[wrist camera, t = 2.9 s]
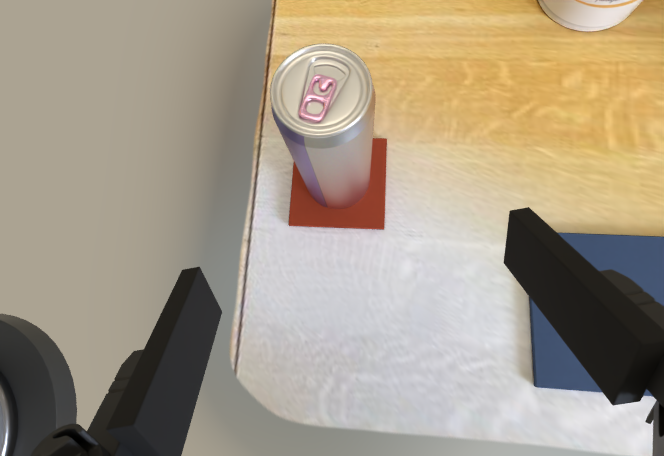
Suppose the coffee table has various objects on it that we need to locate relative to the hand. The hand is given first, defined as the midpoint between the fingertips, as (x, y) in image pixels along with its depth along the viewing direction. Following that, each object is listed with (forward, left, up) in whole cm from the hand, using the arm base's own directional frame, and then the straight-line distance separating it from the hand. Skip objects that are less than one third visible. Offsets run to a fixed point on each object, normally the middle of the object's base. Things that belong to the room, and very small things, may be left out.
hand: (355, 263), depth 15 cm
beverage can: (+5, +9, -17) cm, 20 cm away
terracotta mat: (+5, +9, -17) cm, 20 cm away
